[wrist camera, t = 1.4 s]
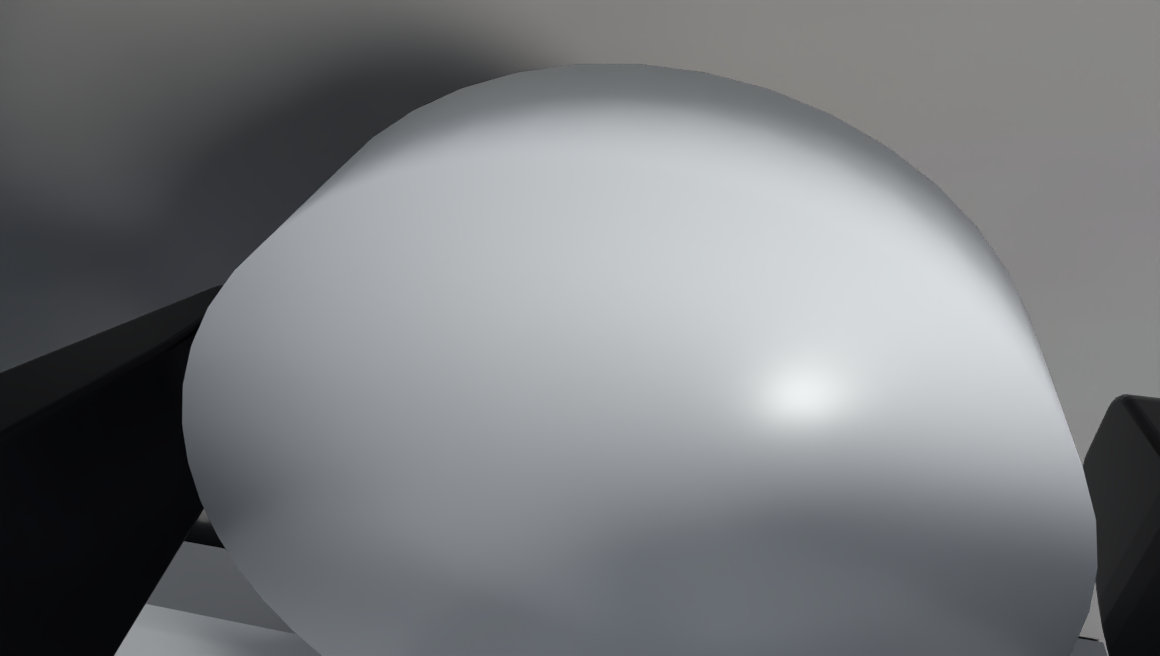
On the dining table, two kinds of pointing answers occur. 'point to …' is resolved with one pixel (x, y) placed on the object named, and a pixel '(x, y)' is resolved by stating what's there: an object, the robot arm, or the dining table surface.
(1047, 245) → the dining table surface
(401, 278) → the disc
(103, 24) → the dining table surface
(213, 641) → the grey boxy piece
